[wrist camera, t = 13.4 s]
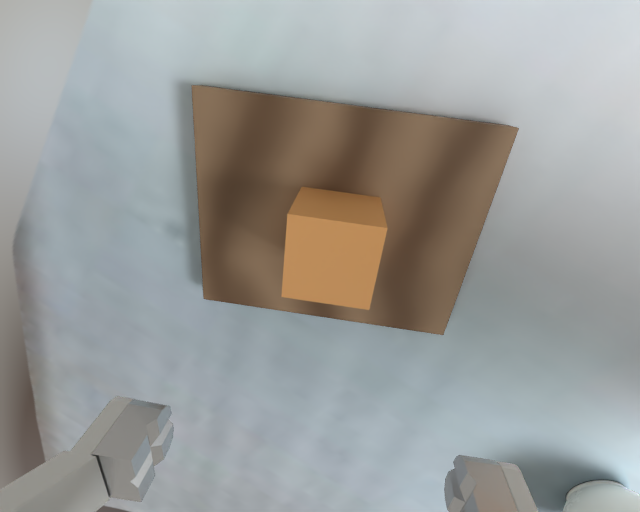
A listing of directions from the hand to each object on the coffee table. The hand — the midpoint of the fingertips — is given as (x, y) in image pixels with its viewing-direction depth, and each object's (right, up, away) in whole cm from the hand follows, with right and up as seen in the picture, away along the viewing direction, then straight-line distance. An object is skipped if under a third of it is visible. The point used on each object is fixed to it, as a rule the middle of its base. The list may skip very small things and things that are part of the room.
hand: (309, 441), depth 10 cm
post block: (+2, +8, +16) cm, 18 cm away
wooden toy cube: (+1, +7, +15) cm, 16 cm away
